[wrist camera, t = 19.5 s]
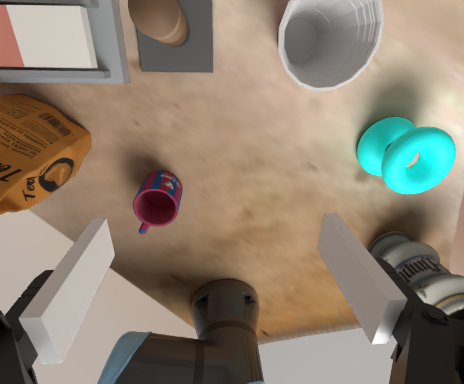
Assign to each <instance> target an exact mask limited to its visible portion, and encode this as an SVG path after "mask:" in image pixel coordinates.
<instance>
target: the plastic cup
mask: <svg viewBox="0 0 464 384" xmlns="http://www.w3.org/2000/svg"><path fill="white" fill-rule="evenodd" d="M384 21H385V20H384V13H383V7H382V0H290V1H289V2H288V4H287V7H286V10H285V12H284V15H283V18H282V20H281V23H280V26H279V42H278V52H279V55H280V58H281V61H282V64H283V66H284V69H285V71H286V73H287V74H288V75H289V76H290V77H291V78H292V79H293V80H294V81H295V82H296V83H297V84H298V85H300V86H302V87H305V88H307V89H310V90H312V91H327V90H335V89H337V88H339V87H341V86H343V85H345V84H347V83H349V82H351V81H353V80H354V79H355V78H356V77H357V76H358V75H359V74H360V73H361V72H362V71H363V70H364V69H365V68H366V67H367V66H368V65H369V63H370V61H371V59H372V58H373V56H374V54H375V52H376V50H377V48H378V47H379V45H380V40H381V35H382V31H383V26H384Z"/></svg>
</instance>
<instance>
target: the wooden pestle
mask: <svg viewBox="0 0 464 384" xmlns="http://www.w3.org/2000/svg"><path fill="white" fill-rule="evenodd" d="M128 9H129V14H130V17H131V19H132V21H133V23H134V24H135V26H136V27H137V28H138V29H139V30H140V31H141V32H142V33H144V34H145V35H147V36H150V37H152V38H154V39H156V40H158V41H160V42H163V43H165V44H167V45H169V46H172V47H180V46H183V45H184V44H185V43H186V42H187V40H188V38H189V35H190V28H189V24H188V22H187V20H186V18H185V16H184V14H183V12H182V10H181V8H180V6H179V4H178V2H177V0H128Z"/></svg>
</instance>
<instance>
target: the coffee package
mask: <svg viewBox="0 0 464 384" xmlns="http://www.w3.org/2000/svg"><path fill="white" fill-rule="evenodd" d="M90 142H91V134H90V133H89V132H88V131H87V130H85V129H83V128H81V127H80V126H78V125H76V124H74V123H72V122H70V121H69V120H68V119H66V118H65V117H64V116H63V115H62V114H61V113H60V112H59V111H58V110H56V109H55V108H53V107H52V106H49V105H47V104H45V103H42V102H40V101H37V100H35V99H33V98H31V97H28V96H26V95H23V94H15V95H7V96H3V97H0V215H1V214H3V213H6V212H18V211H21V210H25V209H28V208H30V207H31V206H33V205H35V204H37V203H39V202H40V201H41V200H42V199H44V198H45V197H47V196H48V195H50V194H51V193H53V192H54V191H56V190H57V189H59V188H60V187H61V186H62V185H63V184H64V183H66V182H67V181H68V180H69V179H71V178H72V177H73V176H75V174H76V172H77V171H78V169H79V167H80V164H81V162H82V160H83V158H84V156H85V155H86V154H87V152H88V151H89V150H90Z"/></svg>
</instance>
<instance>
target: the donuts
mask: <svg viewBox="0 0 464 384" xmlns="http://www.w3.org/2000/svg"><path fill="white" fill-rule="evenodd" d="M392 142H393V143H392ZM391 143H392V144H391ZM389 144H391V145H390V146H389V147H388V149H387V150H386V148H387V146H388V145H389ZM385 150H386V152H385ZM418 151H419V159H418V160H417V162H416V163H415V164H414V165H412V166H411V167H408V168H406V166H407V165H408V164H409V163H410V162H411V161H412V160H413V159H414V157H415V155H416V154H417V152H418ZM455 155H456V148H455V144H454V141H453V139H452V138H451V136H450V135H449V134H448V133H446V132H445V131H443V130H441V129H438V128H435V127H420V128H416V126H415V125H414V124H413V123H412V122H411V121H409V120H407V119H405V118H401V117H389V118H385V119H382V120H380V121H378V122H376V123H375V124H373V125H372V126H371V127H370V128H368V129H367V131H366V132H365V133H364V134H363V136H362V137H361V139H360V142H359V144H358V149H357V157H358V161H359V163H360V165H361V167H362V168H363V169H364V170H365V171H367V172H368V173H370V174H373V175H377V176H382V178H383V180H384V182H385V183H386V185H387V186H388V187H389V188H391V189H392V190H394V191H396V192H398V193H402V194H416V193H421V192H424V191H426V190H428V189H430V188H432V187H434V186H435V185H437V184H438V183H439V182H440V181H441V180H442V179H444V177H445V176H446V175H447V174H448V172H449V171H450V169H451V167H452V165H453V163H454V160H455Z"/></svg>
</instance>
